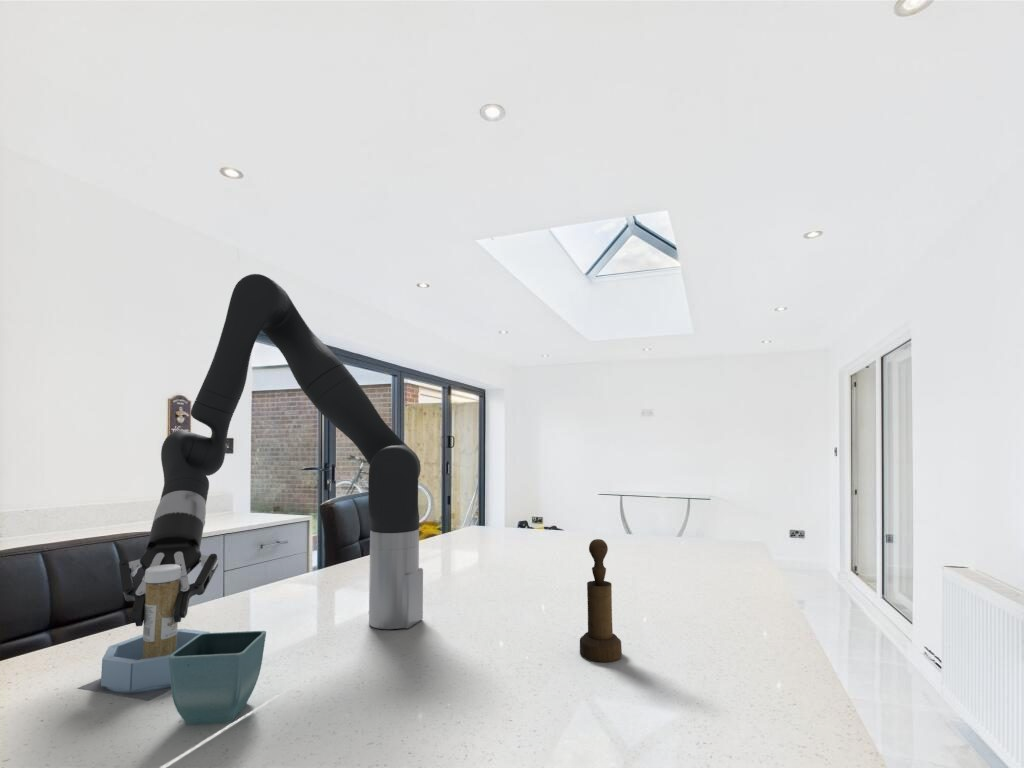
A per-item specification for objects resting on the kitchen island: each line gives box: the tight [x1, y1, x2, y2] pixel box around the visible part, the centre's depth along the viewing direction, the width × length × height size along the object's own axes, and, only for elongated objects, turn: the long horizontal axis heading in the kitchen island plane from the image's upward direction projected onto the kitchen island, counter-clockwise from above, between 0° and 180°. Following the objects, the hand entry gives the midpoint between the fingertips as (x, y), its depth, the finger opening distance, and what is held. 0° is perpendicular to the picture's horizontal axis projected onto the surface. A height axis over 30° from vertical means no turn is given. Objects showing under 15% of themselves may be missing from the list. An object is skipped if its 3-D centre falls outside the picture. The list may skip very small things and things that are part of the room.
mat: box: [77, 678, 171, 701], centre depth 84 cm, size 13×14×1 cm
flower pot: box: [168, 630, 267, 726], centre depth 72 cm, size 9×9×9 cm
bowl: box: [100, 628, 211, 693], centre depth 84 cm, size 13×13×4 cm
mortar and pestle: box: [579, 538, 623, 663], centre depth 92 cm, size 7×6×18 cm
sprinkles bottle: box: [142, 564, 181, 659], centre depth 85 cm, size 5×5×14 cm
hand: (158, 621), depth 83 cm, fingers closed on sprinkles bottle, 4 cm apart
